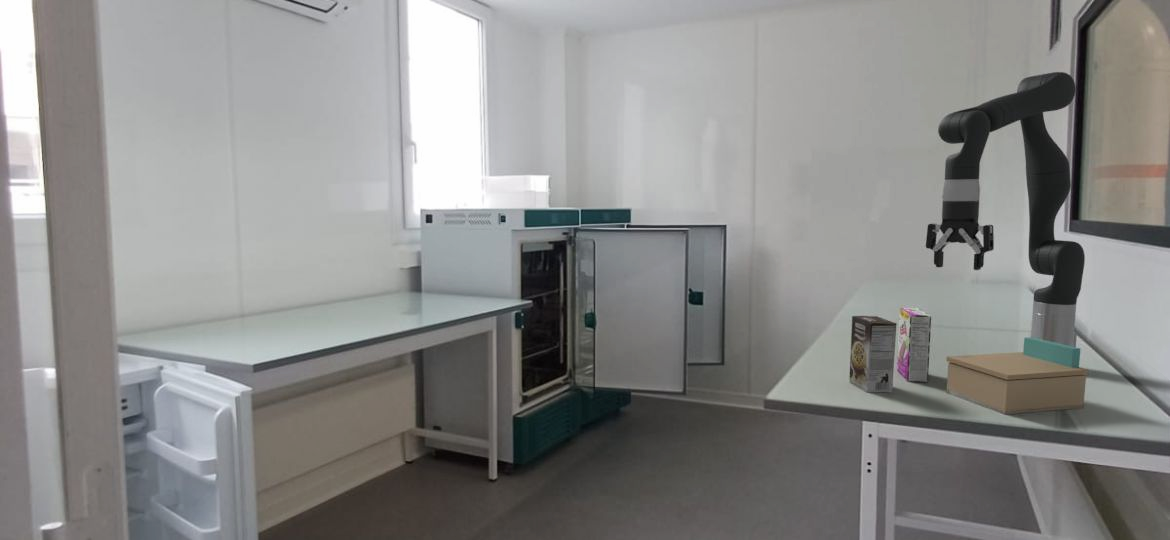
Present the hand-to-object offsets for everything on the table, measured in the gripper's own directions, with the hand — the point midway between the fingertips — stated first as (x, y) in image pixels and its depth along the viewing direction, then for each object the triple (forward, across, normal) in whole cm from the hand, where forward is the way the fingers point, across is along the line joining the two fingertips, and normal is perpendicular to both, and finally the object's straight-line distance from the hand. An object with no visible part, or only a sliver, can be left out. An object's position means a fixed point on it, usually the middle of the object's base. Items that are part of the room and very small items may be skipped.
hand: (957, 268), depth 161 cm
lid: (+20, -15, +5) cm, 25 cm away
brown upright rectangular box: (+27, +10, +20) cm, 35 cm away
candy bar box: (+28, +9, +3) cm, 29 cm away
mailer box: (+28, -15, +5) cm, 32 cm away
